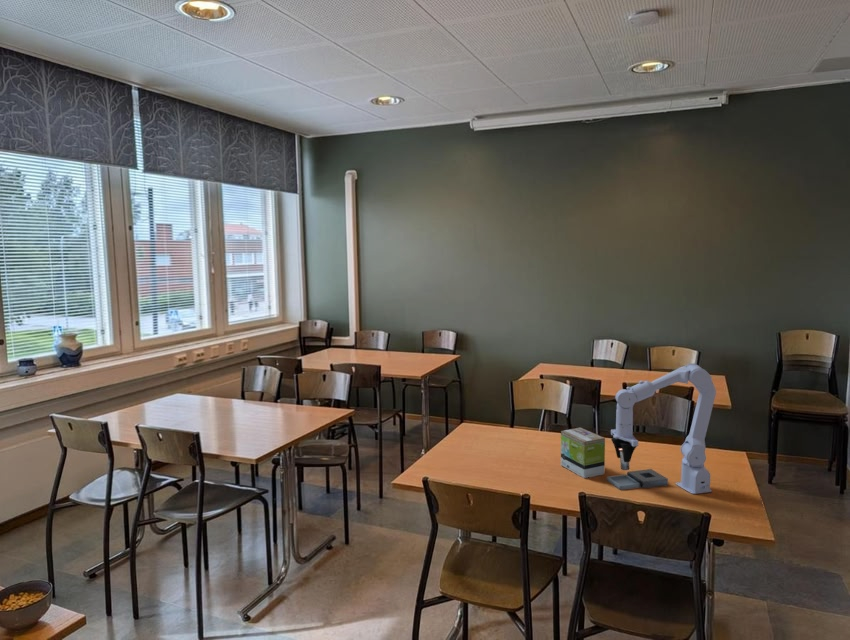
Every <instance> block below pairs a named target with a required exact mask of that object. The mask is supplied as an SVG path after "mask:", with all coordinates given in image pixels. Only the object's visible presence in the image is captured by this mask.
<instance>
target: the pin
mask: <svg viewBox="0 0 850 640" xmlns="http://www.w3.org/2000/svg"><path fill="white" fill-rule="evenodd" d="M618 450H619V451H620V458H619V459H620V460H619V462H620V470H622V471H629V470H630V462H624V459H623V450H622V447H621V446H620V447H619V448H618Z"/></svg>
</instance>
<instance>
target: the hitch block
mask: <svg viewBox="0 0 850 640" xmlns="http://www.w3.org/2000/svg"><path fill="white" fill-rule="evenodd" d="M626 473H627V474H626V475H628V476H629V477H631V478H632V479H634V480H636V481H637V482H639V483H640V488H642V489H648V488H649V489H650V488H657V487H665V486H668V485H669V484H668V483H669V478H667V477H666V476H664V475H662V474H660V473H659V472H657V471H655V470H653V469H652V468H649V469H640V470H639V469H638V470H632V471H629V470H628V471H627V472H626Z"/></svg>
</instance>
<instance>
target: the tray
mask: <svg viewBox="0 0 850 640" xmlns="http://www.w3.org/2000/svg"><path fill="white" fill-rule="evenodd" d="M606 481H607V482H608V483H610V484H611V485H613V486H614V487H615V488H617V489H618V490H620V491H621V490H630V489H631V490H632V489H638V488H639V489H640V488H641V487H640V483H639V482H637V481H636V480H634V479H632V478H631V477H629V476H628V475H627V474H620V475H619V474H618V475H610V476H609V475H608V476H606Z"/></svg>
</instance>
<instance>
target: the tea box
mask: <svg viewBox="0 0 850 640" xmlns="http://www.w3.org/2000/svg"><path fill="white" fill-rule="evenodd" d="M605 456H606V437H604V436H601V435H599V434H596V433H594V432H592V431H589V430H587V429H585V428H583V427H576V428H570V429H565V430H561V431H560V466H561V467H564V468H565V469H567V470H569V471H571V472H573V473H574V474H575V475H576V474H577V476H579V477H581V478H582V479H589V478H592V477H593V478H594V477H598V476H602V475H605V467H606V466H605V464H606V463H605V462H606V460H605V459H606V457H605ZM588 477H589V478H588Z"/></svg>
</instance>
